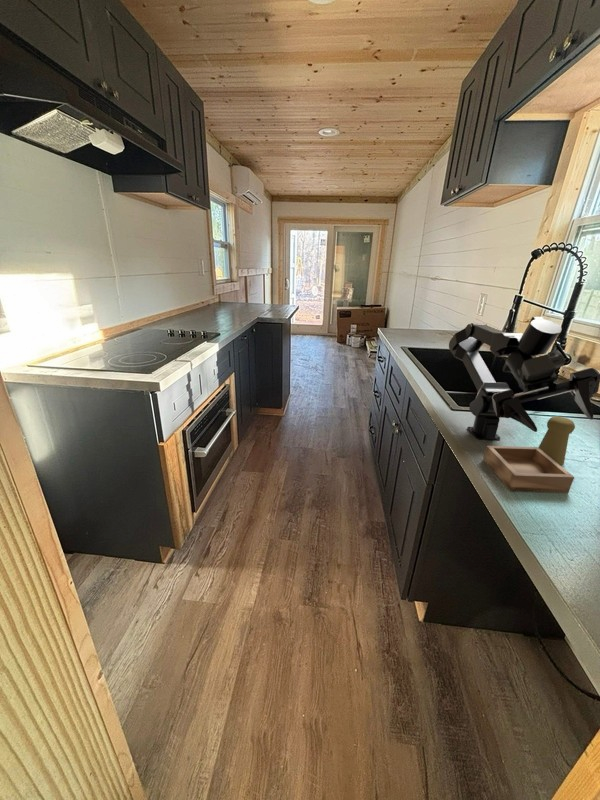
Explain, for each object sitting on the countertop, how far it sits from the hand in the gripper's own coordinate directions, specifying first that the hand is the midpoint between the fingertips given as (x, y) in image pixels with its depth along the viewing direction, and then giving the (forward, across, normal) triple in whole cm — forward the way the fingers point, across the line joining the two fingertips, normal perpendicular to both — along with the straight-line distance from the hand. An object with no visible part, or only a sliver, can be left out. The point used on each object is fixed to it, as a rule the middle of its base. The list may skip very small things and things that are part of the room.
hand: (563, 424), depth 63 cm
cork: (-6, 0, +23) cm, 23 cm away
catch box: (+1, -8, +15) cm, 17 cm away
